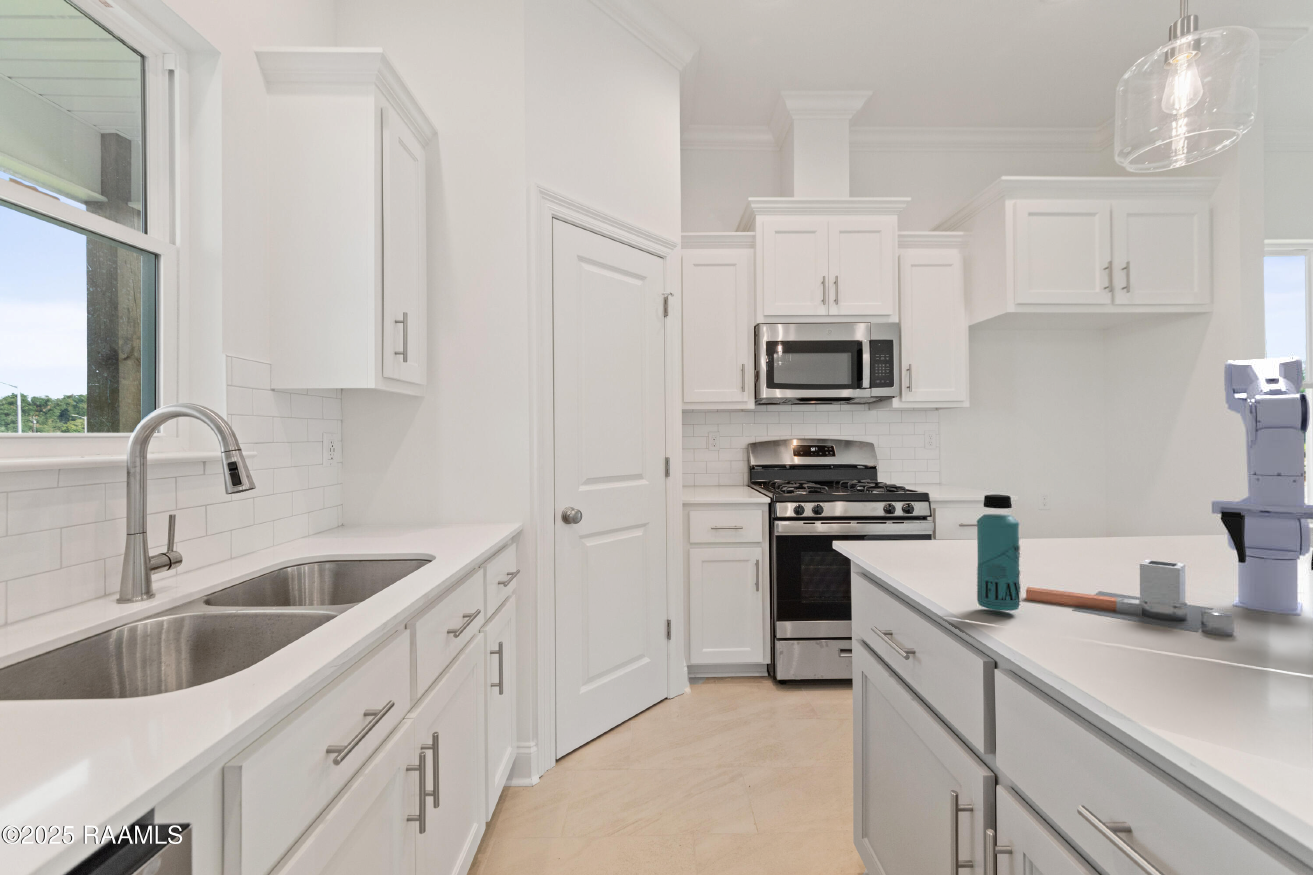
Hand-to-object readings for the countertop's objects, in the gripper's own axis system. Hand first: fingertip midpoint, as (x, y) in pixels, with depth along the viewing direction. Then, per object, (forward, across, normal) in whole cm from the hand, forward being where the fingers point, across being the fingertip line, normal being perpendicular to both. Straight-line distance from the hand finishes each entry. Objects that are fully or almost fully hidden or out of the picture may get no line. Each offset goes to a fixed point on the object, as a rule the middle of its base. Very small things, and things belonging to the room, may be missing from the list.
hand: (1277, 565), depth 93 cm
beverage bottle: (+10, -32, -20) cm, 39 cm away
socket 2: (+10, -6, -8) cm, 14 cm away
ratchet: (+10, -21, -5) cm, 23 cm away
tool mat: (+10, -16, -1) cm, 19 cm away
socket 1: (+7, -13, -4) cm, 15 cm away
